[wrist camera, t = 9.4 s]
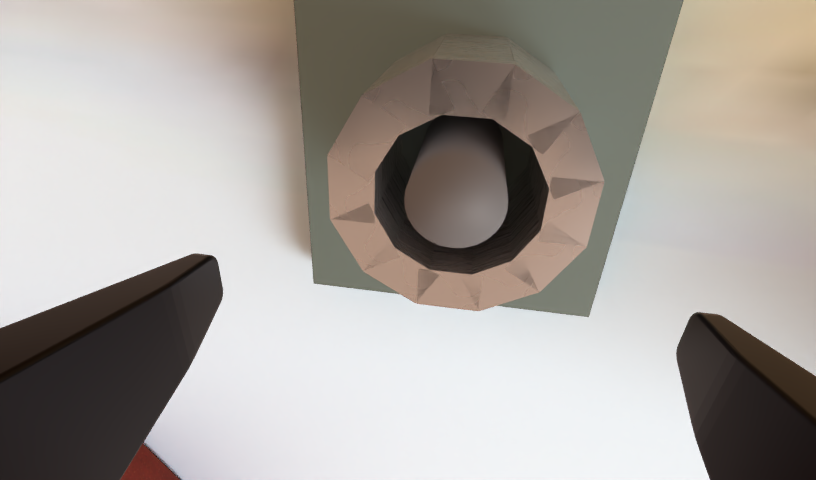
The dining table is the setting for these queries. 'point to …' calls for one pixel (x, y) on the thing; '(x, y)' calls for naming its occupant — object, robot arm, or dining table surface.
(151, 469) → the plant pot
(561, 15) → the post stand
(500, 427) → the dining table surface
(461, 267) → the tan faceted hollow ring
